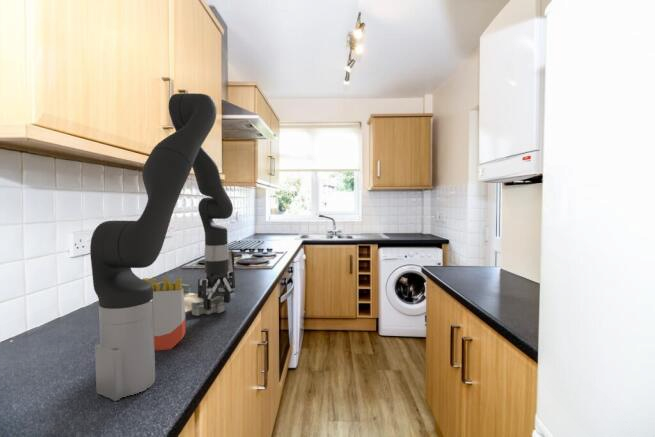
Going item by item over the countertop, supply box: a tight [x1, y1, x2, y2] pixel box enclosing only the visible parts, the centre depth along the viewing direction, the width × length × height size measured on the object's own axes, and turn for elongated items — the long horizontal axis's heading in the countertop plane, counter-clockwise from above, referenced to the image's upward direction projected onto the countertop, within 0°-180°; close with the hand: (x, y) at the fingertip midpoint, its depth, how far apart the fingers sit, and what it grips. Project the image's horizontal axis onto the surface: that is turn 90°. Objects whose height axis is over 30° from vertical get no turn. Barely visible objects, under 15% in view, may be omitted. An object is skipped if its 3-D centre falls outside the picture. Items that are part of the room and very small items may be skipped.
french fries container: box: [141, 277, 186, 351], centre depth 83 cm, size 5×11×18 cm, turn 102°
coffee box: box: [217, 248, 236, 293], centre depth 138 cm, size 9×6×16 cm
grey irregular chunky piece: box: [191, 295, 225, 317], centre depth 110 cm, size 11×8×4 cm
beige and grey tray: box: [159, 280, 203, 313], centre depth 119 cm, size 20×28×5 cm
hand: (217, 306), depth 109 cm, fingers open, 8 cm apart
